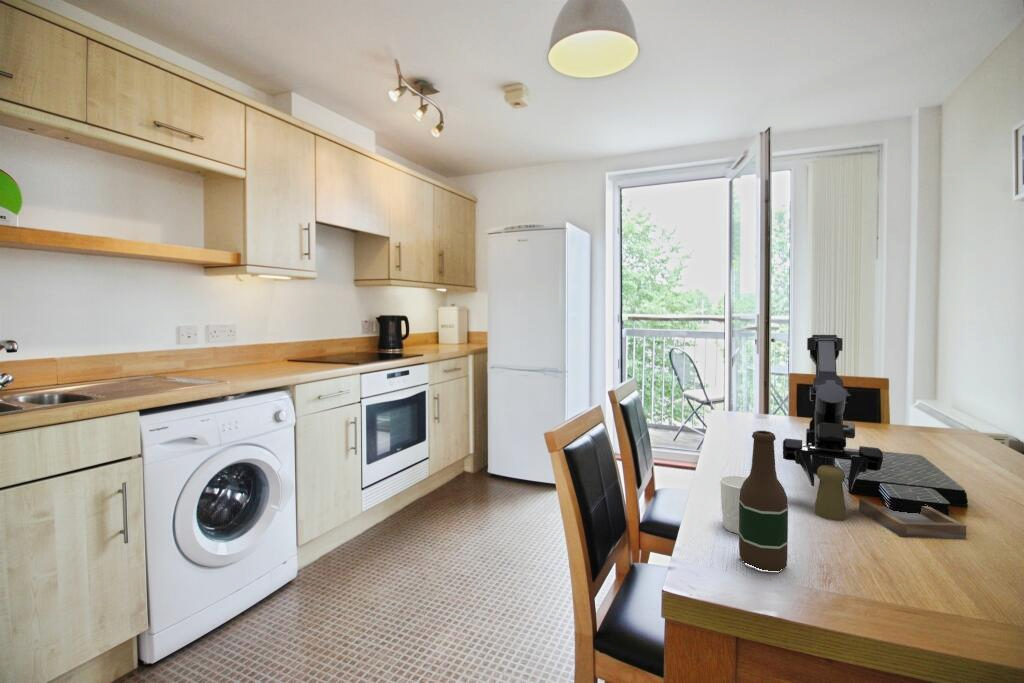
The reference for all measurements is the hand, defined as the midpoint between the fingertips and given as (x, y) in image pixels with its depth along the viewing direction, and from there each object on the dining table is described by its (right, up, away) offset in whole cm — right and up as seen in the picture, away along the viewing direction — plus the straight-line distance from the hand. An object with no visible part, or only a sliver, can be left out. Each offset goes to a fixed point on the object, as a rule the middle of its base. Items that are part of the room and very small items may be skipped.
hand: (831, 487), depth 103 cm
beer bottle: (-25, -8, -18) cm, 31 cm away
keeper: (+14, -7, -3) cm, 16 cm away
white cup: (-22, -7, -4) cm, 23 cm away
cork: (+1, -7, +2) cm, 7 cm away
